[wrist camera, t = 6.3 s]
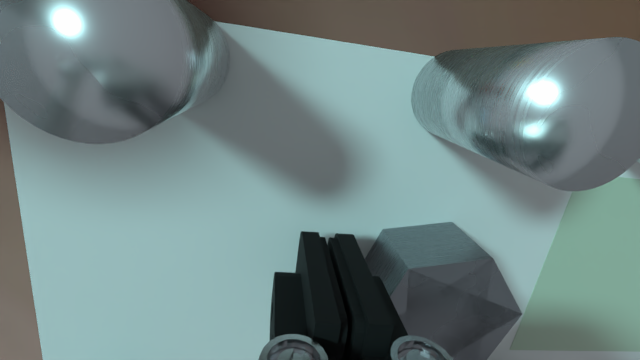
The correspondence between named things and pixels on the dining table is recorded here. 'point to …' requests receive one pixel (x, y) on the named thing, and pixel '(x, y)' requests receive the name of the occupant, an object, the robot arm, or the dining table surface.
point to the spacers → (427, 94)
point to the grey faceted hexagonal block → (445, 288)
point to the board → (301, 213)
